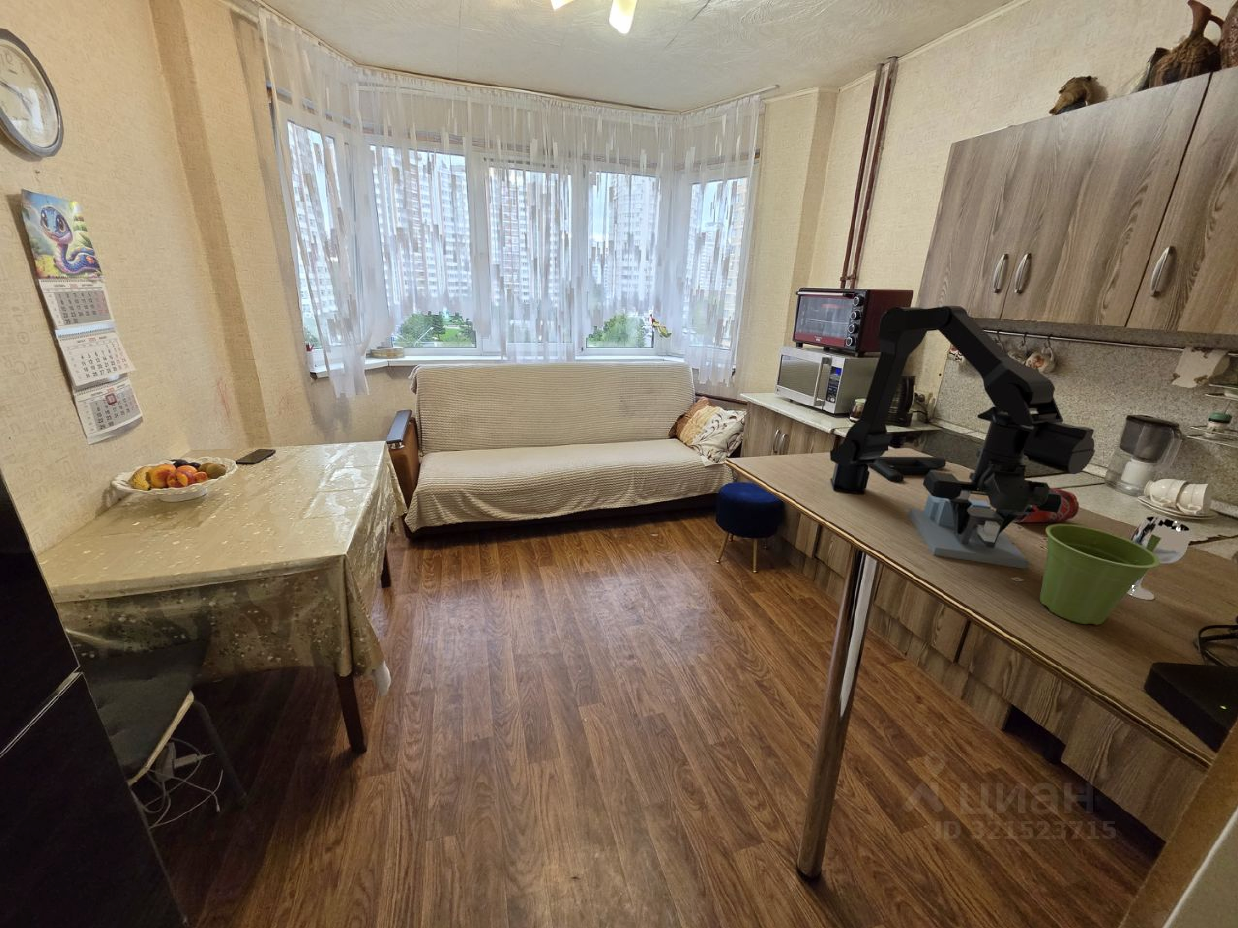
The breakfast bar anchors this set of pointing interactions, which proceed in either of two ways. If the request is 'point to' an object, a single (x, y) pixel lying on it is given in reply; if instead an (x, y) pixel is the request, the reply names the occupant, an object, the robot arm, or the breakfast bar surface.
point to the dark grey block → (978, 517)
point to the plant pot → (1090, 571)
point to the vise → (942, 541)
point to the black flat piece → (907, 466)
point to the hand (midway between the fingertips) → (974, 535)
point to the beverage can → (1066, 512)
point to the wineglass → (1159, 545)
